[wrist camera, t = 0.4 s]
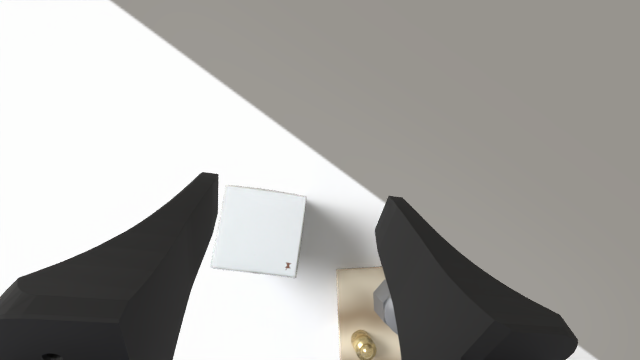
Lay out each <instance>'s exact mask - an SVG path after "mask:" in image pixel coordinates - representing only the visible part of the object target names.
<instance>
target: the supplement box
mask: <svg viewBox="0 0 640 360" xmlns="http://www.w3.org/2000/svg"><path fill="white" fill-rule="evenodd" d="M305 205H306V196H302V195H296V194H291V193H285V192H279V191H273V190H266V189H259V188H251V187H242V186H233V185H226V186H225V193H224V198H223V204H222V209H221V214H220V219H219V225H218V230H217V235H216V240H215V245H214V250H213V255H212V261H211V268H214V269H222V270H231V271H240V272H249V273H255V274H266V275H275V276H283V277H291V278H296V275H297V268H298V261H299V254H300V247H301V239H302V231H303V223H304V214H305Z"/></svg>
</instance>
